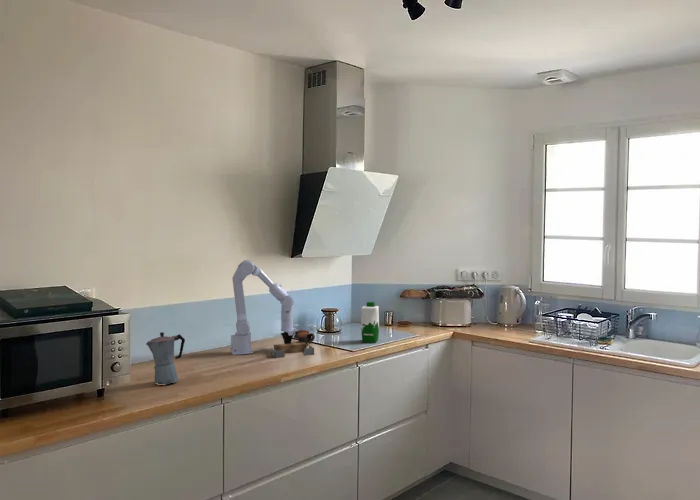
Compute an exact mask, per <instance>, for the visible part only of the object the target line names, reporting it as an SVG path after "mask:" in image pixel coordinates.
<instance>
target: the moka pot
mask: <svg viewBox="0 0 700 500" xmlns="http://www.w3.org/2000/svg"><path fill="white" fill-rule="evenodd" d="M159 335H160V336H159V337H156V338H151V339H150V340H148V341H147V342H146V343H145V345H146V346H147V347H148V348H149V350H150V352H151V354H152V357H153V361H154V367H153V368H154V369H153V370H154V381H155V382H154V384H155V383H158V384H170V383H173V384H175V382H176V383H177V382H178V381H179V377H178V373H177V369H176V365H175V360H178V359H179V358H182V355H183V350H184V347H185V342H186V339H185V338H184V337H183V336H182V335H181V334H176V335H173V336H166V335H165V332H159ZM164 335H165V336H164ZM178 340H181V343H180V349H179V353H178V355H177V356H175V341H178ZM170 385H171V384H170Z"/></svg>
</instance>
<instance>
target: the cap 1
mask: <svg viewBox="0 0 700 500" xmlns="http://www.w3.org/2000/svg"><path fill="white" fill-rule="evenodd" d="M271 356H272V357H273V358H274V359H280V358H285V357H286V354H285V351H284V350H283V351H275V350H274V348H271Z"/></svg>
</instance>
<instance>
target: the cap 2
mask: <svg viewBox="0 0 700 500" xmlns="http://www.w3.org/2000/svg"><path fill="white" fill-rule="evenodd" d="M303 353H304V354H303V355H304V356H310V355H311V356H312V355H315V348H314V347H313V346H312V344H308V347H306V349H304V352H303Z"/></svg>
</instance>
